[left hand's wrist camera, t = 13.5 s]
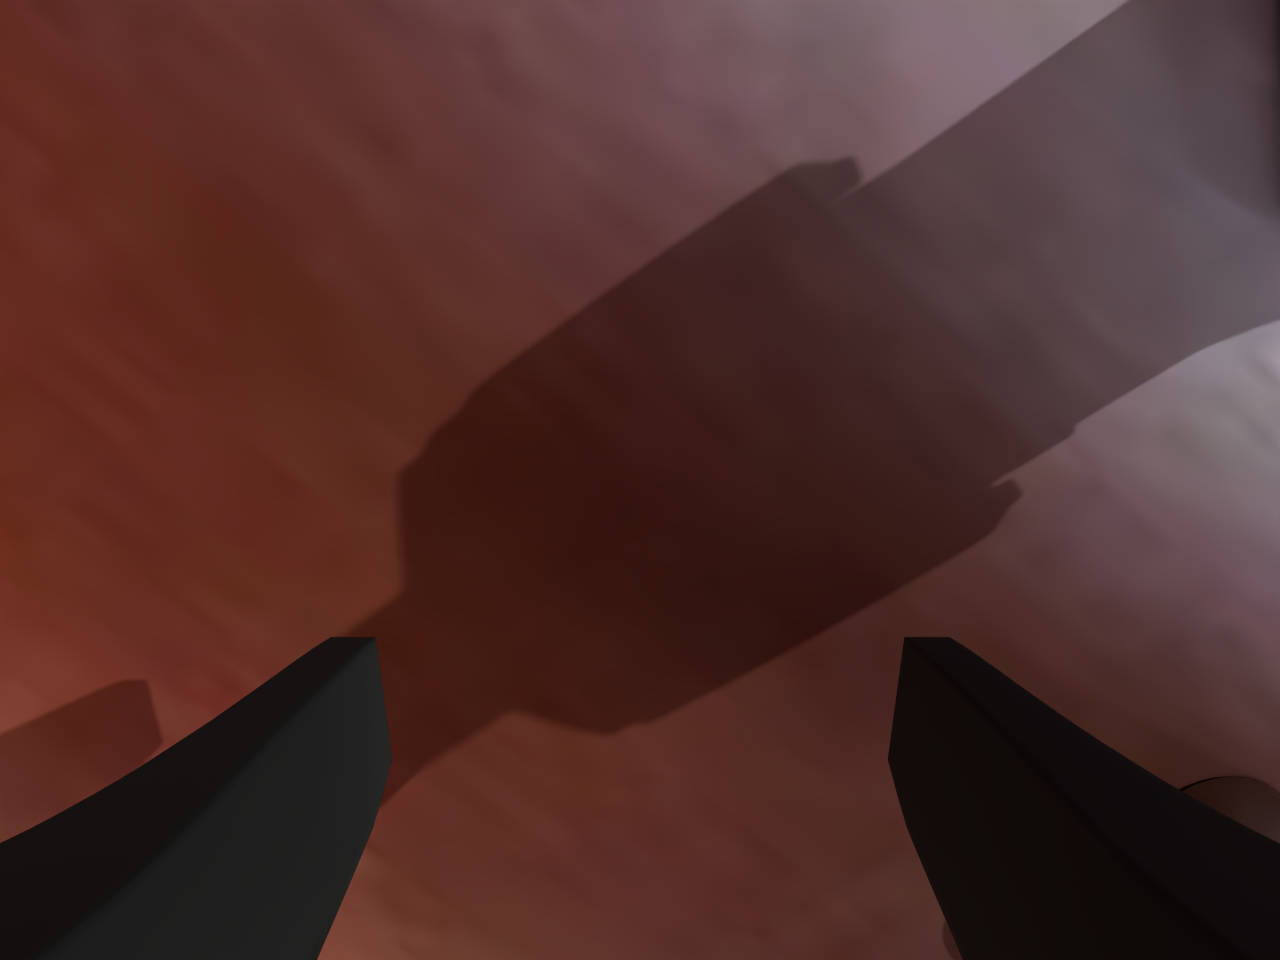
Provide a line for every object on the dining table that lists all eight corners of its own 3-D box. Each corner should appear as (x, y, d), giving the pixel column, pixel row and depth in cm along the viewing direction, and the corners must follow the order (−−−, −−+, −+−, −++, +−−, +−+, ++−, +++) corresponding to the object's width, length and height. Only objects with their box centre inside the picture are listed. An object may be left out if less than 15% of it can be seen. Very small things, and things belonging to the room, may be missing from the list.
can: (1209, 905, 24) (1336, 1071, 19) (1112, 847, 23) (1221, 1006, 19) (1318, 816, 23) (1480, 972, 18) (1220, 753, 22) (1363, 899, 17)
